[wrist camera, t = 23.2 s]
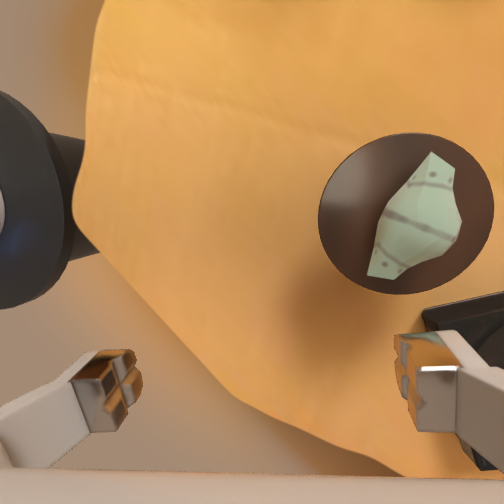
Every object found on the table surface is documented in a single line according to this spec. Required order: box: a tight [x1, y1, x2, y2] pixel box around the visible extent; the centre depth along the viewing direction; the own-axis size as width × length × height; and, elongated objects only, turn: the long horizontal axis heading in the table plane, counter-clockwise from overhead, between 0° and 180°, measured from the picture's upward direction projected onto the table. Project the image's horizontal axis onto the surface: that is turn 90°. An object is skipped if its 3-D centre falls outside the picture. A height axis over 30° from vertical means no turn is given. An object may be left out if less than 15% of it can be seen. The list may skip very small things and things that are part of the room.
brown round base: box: [318, 133, 494, 295], centre depth 27 cm, size 12×12×10 cm
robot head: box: [367, 152, 462, 280], centre depth 19 cm, size 8×4×7 cm, turn 159°
